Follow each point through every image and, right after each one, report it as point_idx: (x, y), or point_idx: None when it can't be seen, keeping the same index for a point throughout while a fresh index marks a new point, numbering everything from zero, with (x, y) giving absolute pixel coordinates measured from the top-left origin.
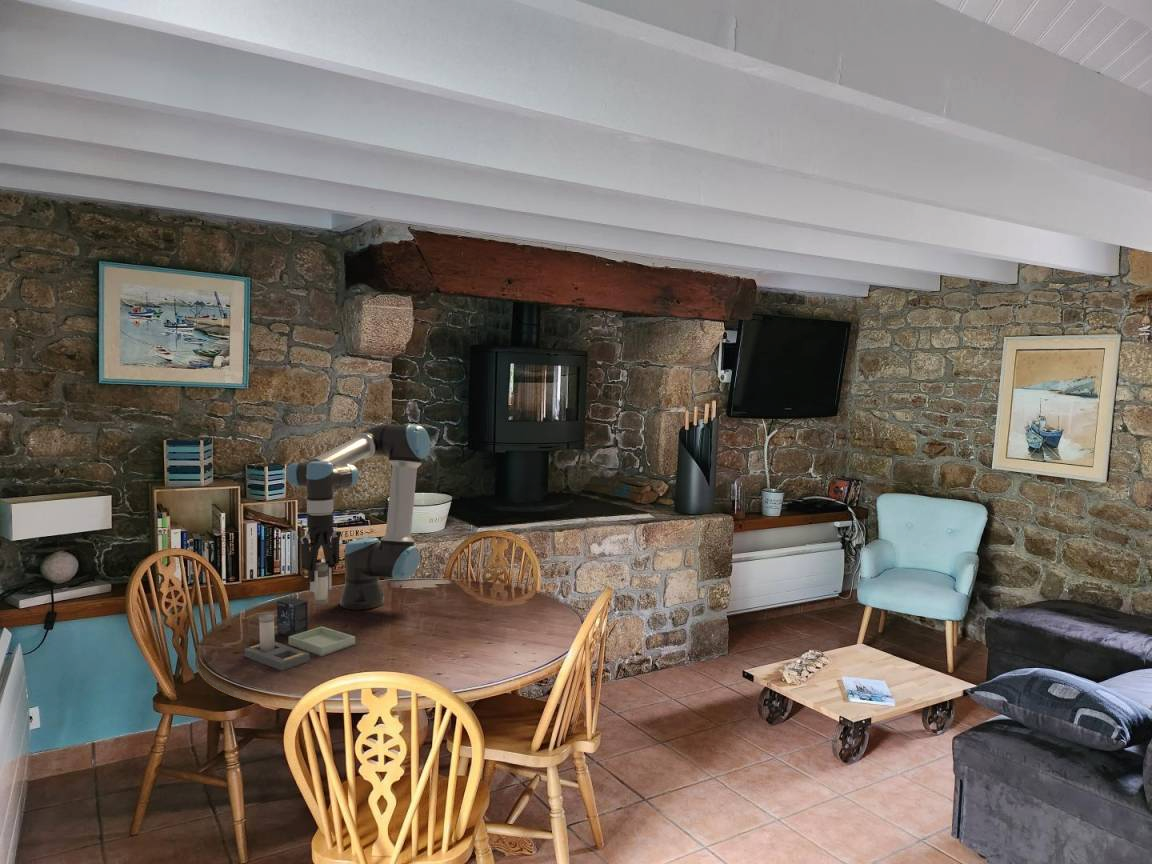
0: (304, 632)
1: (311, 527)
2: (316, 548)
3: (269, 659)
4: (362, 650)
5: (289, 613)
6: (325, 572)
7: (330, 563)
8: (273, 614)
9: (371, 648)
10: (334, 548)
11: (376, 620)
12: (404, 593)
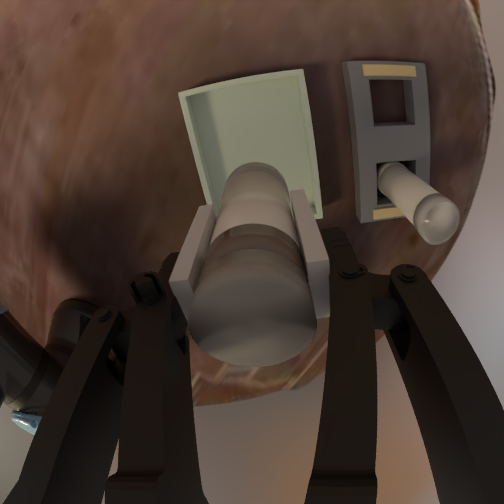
0: None
1: None
2: (359, 472)
3: (428, 112)
4: (190, 40)
5: None
6: (238, 241)
7: (165, 310)
8: (428, 212)
9: (163, 41)
10: (86, 426)
11: (81, 232)
12: (28, 323)
